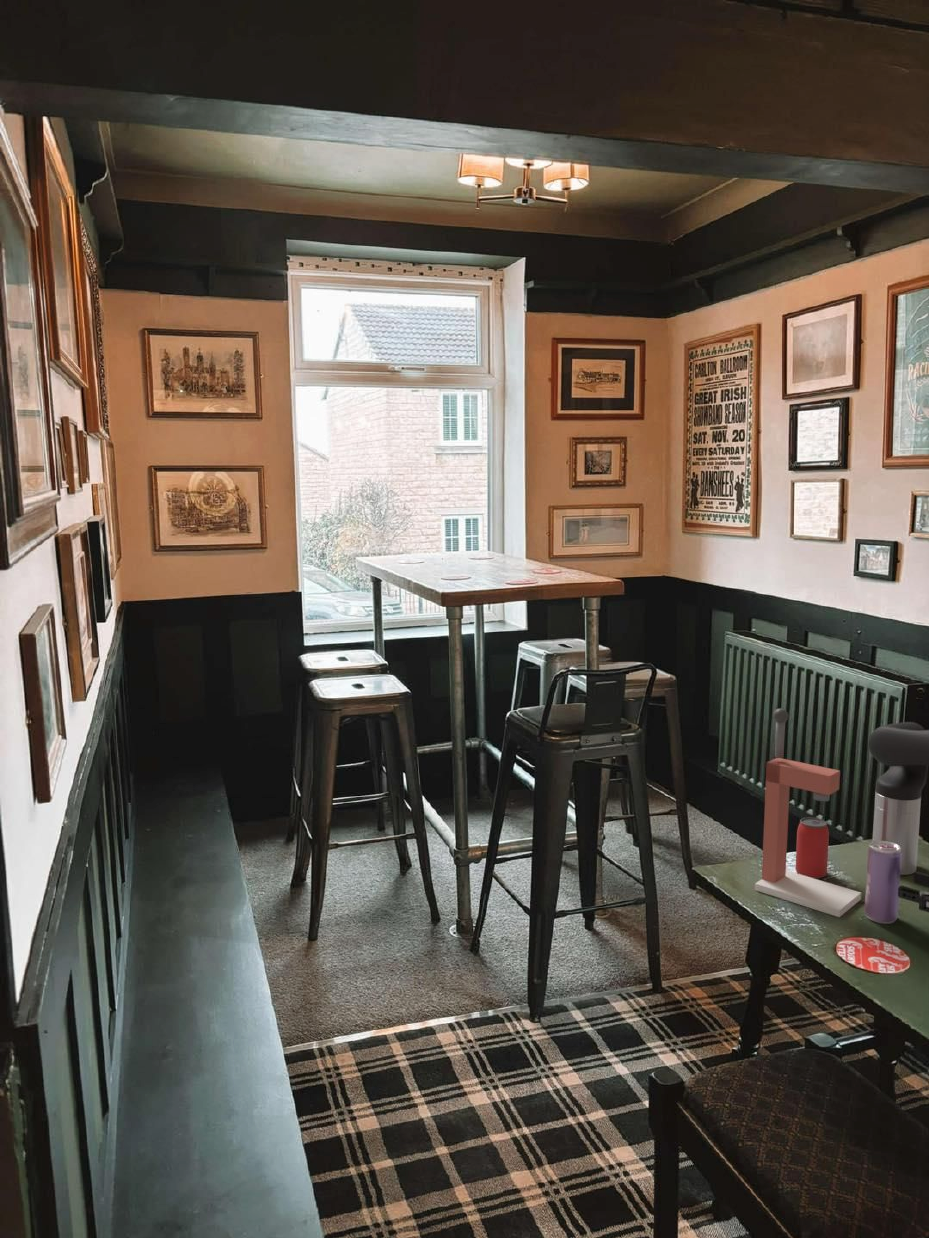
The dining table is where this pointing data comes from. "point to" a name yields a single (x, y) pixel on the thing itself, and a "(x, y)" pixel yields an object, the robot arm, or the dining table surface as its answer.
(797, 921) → the dining table surface
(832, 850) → the dining table surface
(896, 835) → the robot arm
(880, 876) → the beverage can
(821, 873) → the beer can
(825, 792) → the bench press
